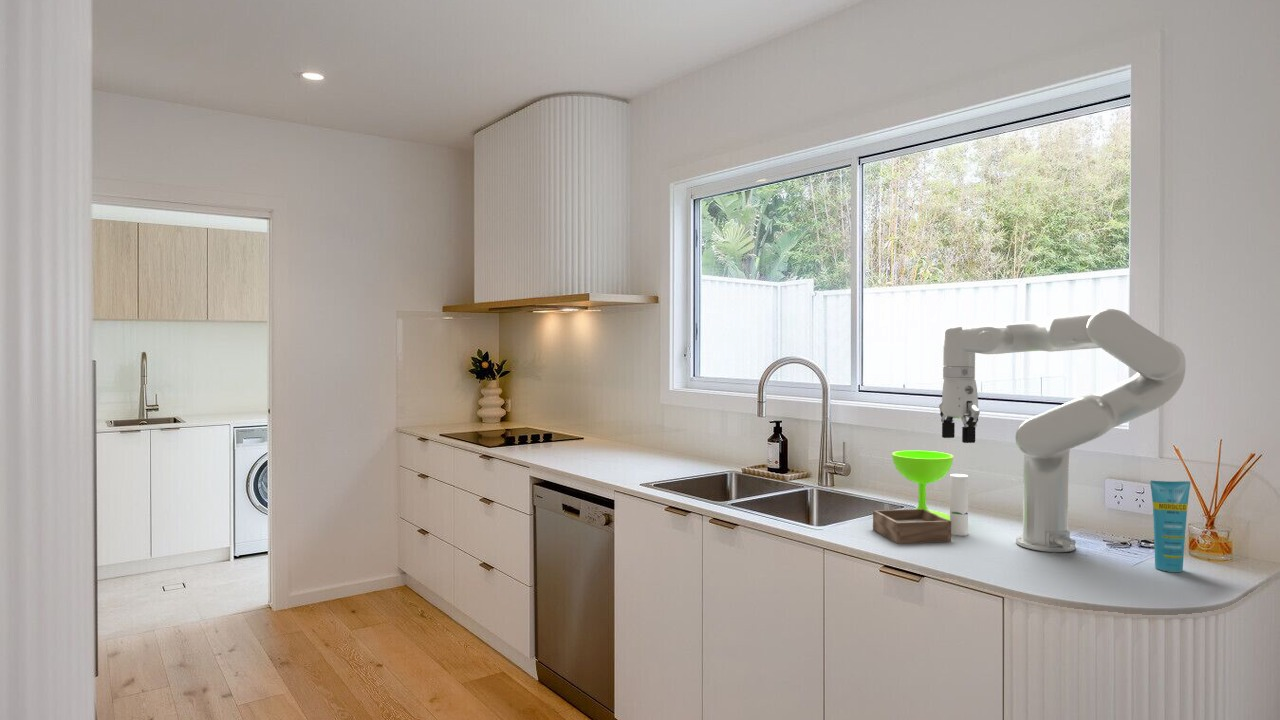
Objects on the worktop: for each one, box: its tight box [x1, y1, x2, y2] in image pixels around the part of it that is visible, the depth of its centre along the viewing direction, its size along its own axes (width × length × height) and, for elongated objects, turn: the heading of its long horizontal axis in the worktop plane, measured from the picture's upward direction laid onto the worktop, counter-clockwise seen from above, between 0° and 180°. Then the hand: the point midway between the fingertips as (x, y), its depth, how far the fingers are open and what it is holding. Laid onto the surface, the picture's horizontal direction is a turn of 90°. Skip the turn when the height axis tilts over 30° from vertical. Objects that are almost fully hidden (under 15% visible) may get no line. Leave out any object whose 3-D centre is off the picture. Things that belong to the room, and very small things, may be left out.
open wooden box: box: [872, 508, 952, 544], centre depth 191 cm, size 14×14×5 cm
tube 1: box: [949, 473, 969, 537], centre depth 192 cm, size 4×4×15 cm
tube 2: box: [1149, 480, 1191, 573], centre depth 160 cm, size 7×5×19 cm, turn 81°
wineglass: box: [891, 450, 954, 520], centre depth 208 cm, size 16×16×18 cm
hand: (958, 440), depth 192 cm, fingers open, 9 cm apart
